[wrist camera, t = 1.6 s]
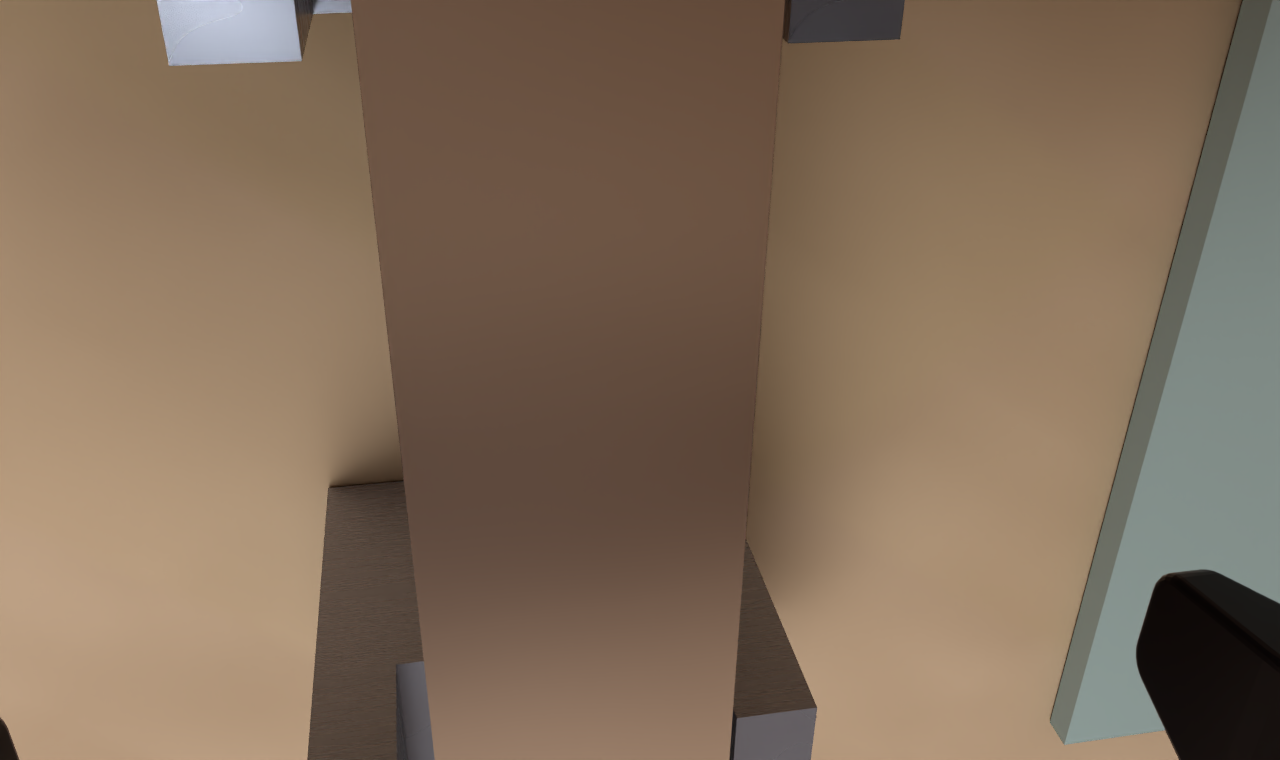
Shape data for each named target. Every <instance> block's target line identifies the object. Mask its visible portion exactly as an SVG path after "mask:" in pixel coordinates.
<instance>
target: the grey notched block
mask: <svg viewBox="0 0 1280 760" xmlns="http://www.w3.org/2000/svg"><path fill="white" fill-rule="evenodd" d="M904 2H905V0H785V7H784V21H783V34H782V38H783V39H784V40H785V41H786V42H787V43H812V42H840V41H867V40H895V39H900V34H901V26H902V18H903V10H904ZM157 5H158V10H159V15H160V20H161V26H162V31H163V36H164V41H165V46H166V52H167V57H168V62H169V66H176V65H204V64H231V63H259V62H287V61H302V58H303V54H304V50H305V45H306V41H307V37H308V33H309V29H310V24H311V20H312V16H313V14H323V13H352V8H351V0H157Z"/></svg>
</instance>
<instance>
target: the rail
mask: <svg viewBox="0 0 1280 760" xmlns="http://www.w3.org/2000/svg"><path fill="white" fill-rule="evenodd" d="M784 7H785V0H351V8H352V17H353V26H354V35H355V44H356V53H357V62H358V71H359V80H360V89H361V98H362V107H363V116H364V125H365V134H366V143H367V152H368V161H369V170H370V179H371V188H372V197H373V206H374V215H375V224H376V234H377V243H378V252H379V261H380V270H381V279H382V288H383V297H384V306H385V315H386V324H387V333H388V342H389V351H390V360H391V369H392V378H393V387H394V396H395V405H396V414H397V423H398V432H399V441H400V450H401V459H402V468H403V477H404V487H405V496H406V505H407V514H408V523H409V532H410V541H411V550H412V559H413V568H414V577H415V586H416V595H417V604H418V613H419V622H420V631H421V640H422V649H423V658H424V667H425V676H426V685H427V694H428V703H429V712H430V721H431V730H432V740H433V749H434V758H435V760H729V758H730V744H731V730H732V717H733V703H734V689H735V676H736V662H737V648H738V635H739V621H740V607H741V594H742V580H743V566H744V553H745V539H746V526H747V512H748V498H749V485H750V471H751V457H752V444H753V430H754V416H755V403H756V389H757V375H758V362H759V348H760V335H761V321H762V307H763V294H764V280H765V266H766V253H767V239H768V225H769V212H770V198H771V184H772V171H773V157H774V144H775V130H776V116H777V103H778V89H779V75H780V62H781V48H782V34H783V21H784Z"/></svg>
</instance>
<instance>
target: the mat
mask: <svg viewBox="0 0 1280 760" xmlns="http://www.w3.org/2000/svg"><path fill="white" fill-rule="evenodd" d="M1199 569H1207V570H1213V571H1216V572H1218V573H1220V574H1222V575H1224V576H1226V577H1228V578H1230V579H1232V580H1234V581H1236V582H1238V583H1240V584H1242V585H1244V586H1246V587H1248V588H1250V589H1252V590H1254V591H1256V592H1258V593H1260V594H1262V595H1264V596H1266V597H1268V598H1270V599H1272V600H1274V601H1276V602H1278V603H1280V0H1243V2H1242V5H1241V9H1240V13H1239V16H1238V20H1237V24H1236V28H1235V31H1234V35H1233V39H1232V43H1231V46H1230V50H1229V54H1228V58H1227V61H1226V65H1225V69H1224V73H1223V76H1222V80H1221V84H1220V88H1219V91H1218V95H1217V99H1216V103H1215V106H1214V110H1213V114H1212V118H1211V121H1210V125H1209V129H1208V132H1207V136H1206V140H1205V144H1204V147H1203V151H1202V155H1201V159H1200V162H1199V166H1198V170H1197V174H1196V177H1195V181H1194V185H1193V189H1192V192H1191V196H1190V200H1189V204H1188V207H1187V211H1186V215H1185V219H1184V222H1183V226H1182V230H1181V234H1180V237H1179V241H1178V245H1177V248H1176V252H1175V256H1174V260H1173V263H1172V267H1171V271H1170V275H1169V278H1168V282H1167V286H1166V290H1165V293H1164V297H1163V301H1162V305H1161V308H1160V312H1159V316H1158V320H1157V323H1156V327H1155V331H1154V335H1153V338H1152V342H1151V346H1150V350H1149V353H1148V357H1147V361H1146V365H1145V368H1144V372H1143V376H1142V379H1141V383H1140V387H1139V391H1138V394H1137V398H1136V402H1135V406H1134V409H1133V413H1132V417H1131V421H1130V424H1129V428H1128V432H1127V436H1126V439H1125V443H1124V447H1123V451H1122V454H1121V458H1120V462H1119V466H1118V469H1117V473H1116V477H1115V481H1114V484H1113V488H1112V492H1111V495H1110V499H1109V503H1108V507H1107V510H1106V514H1105V518H1104V522H1103V525H1102V529H1101V533H1100V537H1099V540H1098V544H1097V548H1096V552H1095V555H1094V559H1093V563H1092V567H1091V570H1090V574H1089V578H1088V582H1087V585H1086V589H1085V593H1084V597H1083V600H1082V604H1081V608H1080V612H1079V615H1078V619H1077V623H1076V626H1075V630H1074V634H1073V638H1072V641H1071V645H1070V649H1069V653H1068V656H1067V660H1066V664H1065V668H1064V671H1063V675H1062V679H1061V683H1060V686H1059V690H1058V694H1057V698H1056V701H1055V705H1054V709H1053V713H1052V716H1051V720H1050V723H1051V725H1052V726H1053V728H1054V729H1055V731H1056V733H1057V734H1058V736H1059V737H1060V739H1061V740H1062V742H1063V743H1064V745H1066V744H1073V743H1080V742H1086V741H1093V740H1100V739H1107V738H1114V737H1121V736H1128V735H1135V734H1142V733H1149V732H1156V731H1163V730H1165V728H1164V726H1163V724H1162V722H1161V720H1160V718H1159V716H1158V714H1157V711H1156V709H1155V707H1154V705H1153V703H1152V701H1151V699H1150V697H1149V695H1148V692H1147V690H1146V688H1145V686H1144V684H1143V682H1142V680H1141V677H1140V674H1139V671H1138V668H1137V663H1136V645H1137V641H1138V638H1139V634H1140V631H1141V628H1142V625H1143V621H1144V618H1145V615H1146V611H1147V608H1148V605H1149V601H1150V598H1151V595H1152V591H1153V588H1154V586H1155V584H1156V582H1157V581H1158V580H1159V579H1160V578H1161V577H1162V576H1163V575H1166V574H1168V573H1174V572H1182V571H1191V570H1199Z"/></svg>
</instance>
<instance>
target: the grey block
mask: <svg viewBox="0 0 1280 760" xmlns="http://www.w3.org/2000/svg"><path fill="white" fill-rule="evenodd" d="M816 712H817V706H816V704H815V702H814V699H813V697H812V694H811V692H810V690H809V687H808V685H807V683H806V680H805V678H804V675H803V673H802V671H801V668H800V666H799V664H798V661H797V659H796V657H795V654H794V652H793V649H792V647H791V645H790V642H789V640H788V638H787V635H786V633H785V630H784V628H783V626H782V623H781V621H780V619H779V616H778V614H777V612H776V609H775V607H774V604H773V602H772V600H771V597H770V595H769V593H768V590H767V588H766V585H765V583H764V581H763V578H762V576H761V574H760V571H759V569H758V567H757V564H756V562H755V559H754V557H753V555H752V552H751V550H750V548H749V545H748V543H747V540H746V539H745V553H744V566H743V580H742V594H741V607H740V621H739V635H738V648H737V662H736V676H735V689H734V703H733V717H732V730H731V744H730V758H729V760H811V752H812V744H813V736H814V728H815V720H816ZM307 760H435V758H434V749H433V740H432V730H431V721H430V712H429V703H428V694H427V685H426V676H425V667H424V658H423V649H422V640H421V631H420V622H419V613H418V604H417V595H416V586H415V577H414V568H413V559H412V550H411V541H410V532H409V523H408V514H407V505H406V496H405V487H404V481H398V482H387V483H377V484H366V485H356V486H345V487H334V488H328V498H327V511H326V524H325V537H324V550H323V563H322V576H321V589H320V602H319V615H318V628H317V641H316V654H315V667H314V681H313V694H312V707H311V720H310V733H309V746H308V759H307Z"/></svg>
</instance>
